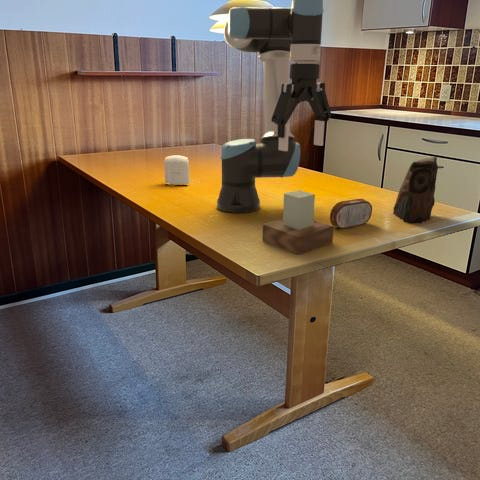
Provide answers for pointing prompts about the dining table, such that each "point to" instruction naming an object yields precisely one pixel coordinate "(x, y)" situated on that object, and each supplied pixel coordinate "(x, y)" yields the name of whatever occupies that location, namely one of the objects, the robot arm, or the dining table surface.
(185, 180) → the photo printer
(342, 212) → the tin
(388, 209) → the dining table surface
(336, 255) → the dining table surface
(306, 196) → the sage block
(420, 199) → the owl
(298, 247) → the walnut board
